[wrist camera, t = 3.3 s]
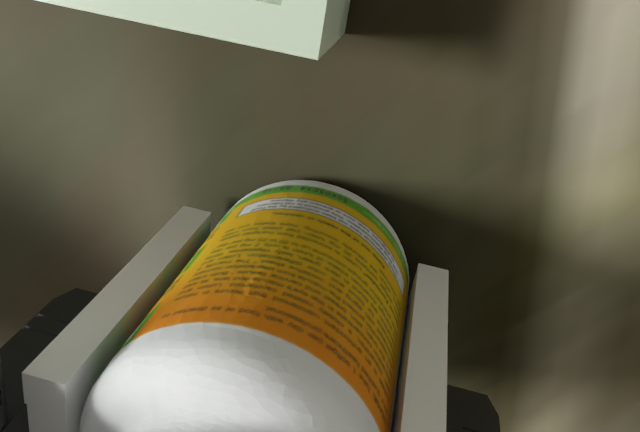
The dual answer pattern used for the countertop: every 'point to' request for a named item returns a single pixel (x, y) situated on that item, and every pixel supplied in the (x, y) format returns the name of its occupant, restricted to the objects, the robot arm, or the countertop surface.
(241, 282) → the supplement bottle
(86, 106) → the countertop surface
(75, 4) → the tray
